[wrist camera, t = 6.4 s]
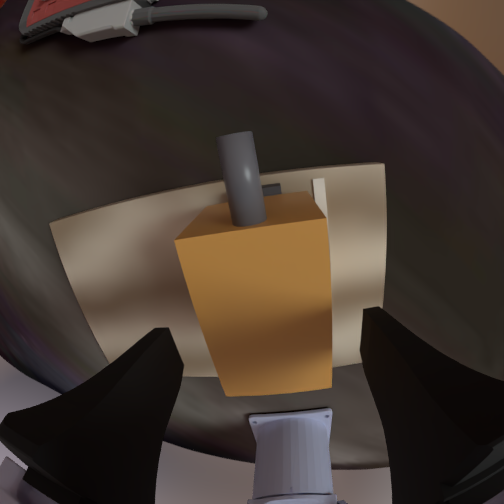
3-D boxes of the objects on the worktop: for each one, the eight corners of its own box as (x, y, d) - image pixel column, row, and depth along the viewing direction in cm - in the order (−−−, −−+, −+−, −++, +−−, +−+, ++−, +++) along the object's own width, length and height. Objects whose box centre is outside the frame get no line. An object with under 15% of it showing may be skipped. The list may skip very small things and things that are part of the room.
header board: (371, 349, 19) (387, 392, 15) (119, 362, 22) (99, 397, 18) (376, 162, 14) (413, 171, 10) (59, 218, 17) (18, 239, 13)
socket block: (318, 324, 16) (331, 387, 11) (237, 333, 16) (226, 396, 12) (297, 129, 12) (314, 121, 7) (194, 147, 12) (153, 152, 8)
